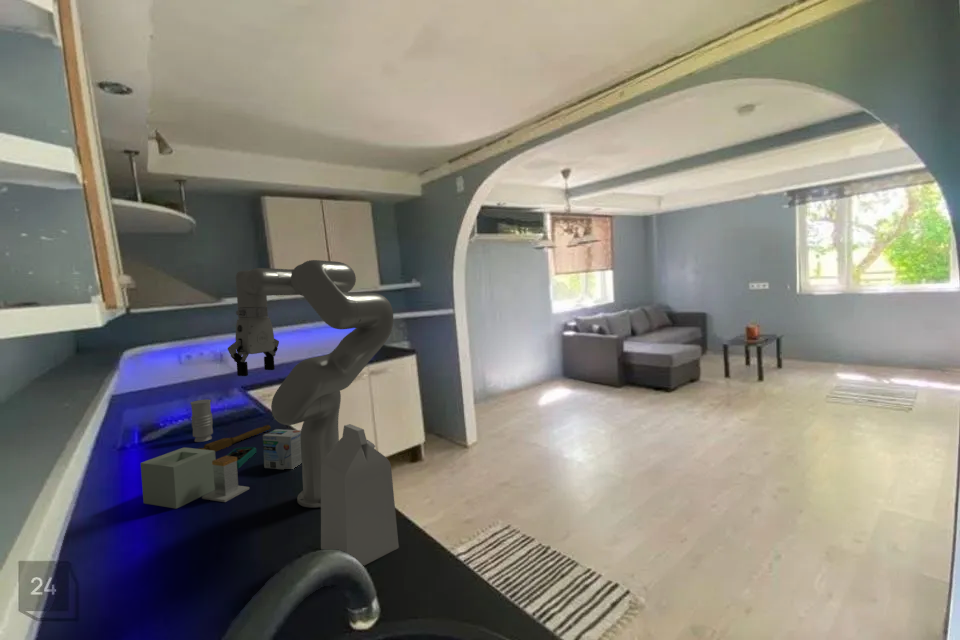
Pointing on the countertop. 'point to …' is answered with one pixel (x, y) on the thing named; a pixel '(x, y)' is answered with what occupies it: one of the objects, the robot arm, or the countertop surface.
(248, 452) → the digital multimeter
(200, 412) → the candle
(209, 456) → the grey hollow block
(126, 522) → the countertop surface
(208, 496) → the mat
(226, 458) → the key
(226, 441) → the tap handle
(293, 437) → the light bulb box
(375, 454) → the milk
